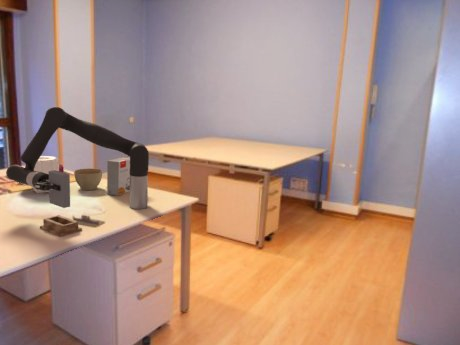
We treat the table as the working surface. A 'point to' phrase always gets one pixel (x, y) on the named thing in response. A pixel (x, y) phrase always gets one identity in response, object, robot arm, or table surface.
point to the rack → (60, 225)
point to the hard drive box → (118, 176)
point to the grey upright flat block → (63, 195)
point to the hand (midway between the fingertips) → (63, 187)
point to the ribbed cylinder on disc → (46, 167)
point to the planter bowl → (88, 178)
